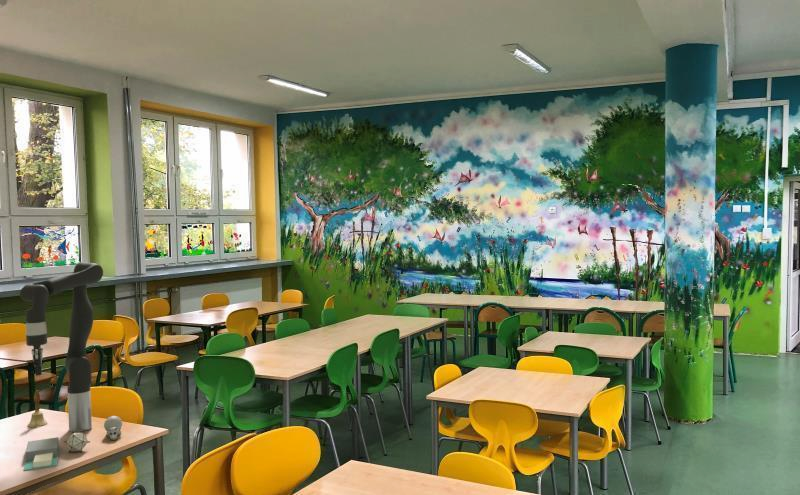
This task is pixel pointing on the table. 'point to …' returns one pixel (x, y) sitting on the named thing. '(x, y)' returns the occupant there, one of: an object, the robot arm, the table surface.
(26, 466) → the teal mat
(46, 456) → the ivory tile
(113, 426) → the round bodied animal figurine
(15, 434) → the table surface
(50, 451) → the gray board
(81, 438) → the game die
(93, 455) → the table surface
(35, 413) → the hand bell
